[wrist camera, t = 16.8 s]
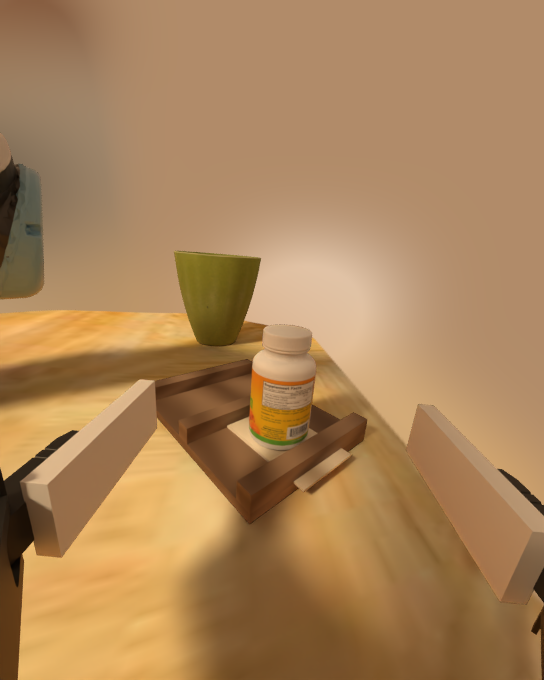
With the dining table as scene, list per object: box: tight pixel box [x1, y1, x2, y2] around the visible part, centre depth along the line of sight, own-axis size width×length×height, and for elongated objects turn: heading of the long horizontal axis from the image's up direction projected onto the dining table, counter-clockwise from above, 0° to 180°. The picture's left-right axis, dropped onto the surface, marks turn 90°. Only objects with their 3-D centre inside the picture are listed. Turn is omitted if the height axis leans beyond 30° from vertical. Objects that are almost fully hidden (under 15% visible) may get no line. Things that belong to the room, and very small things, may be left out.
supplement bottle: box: [249, 325, 316, 450], centre depth 24 cm, size 5×5×10 cm
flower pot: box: [174, 251, 261, 346], centre depth 52 cm, size 15×15×16 cm
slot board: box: [155, 359, 367, 524], centre depth 28 cm, size 14×20×2 cm
